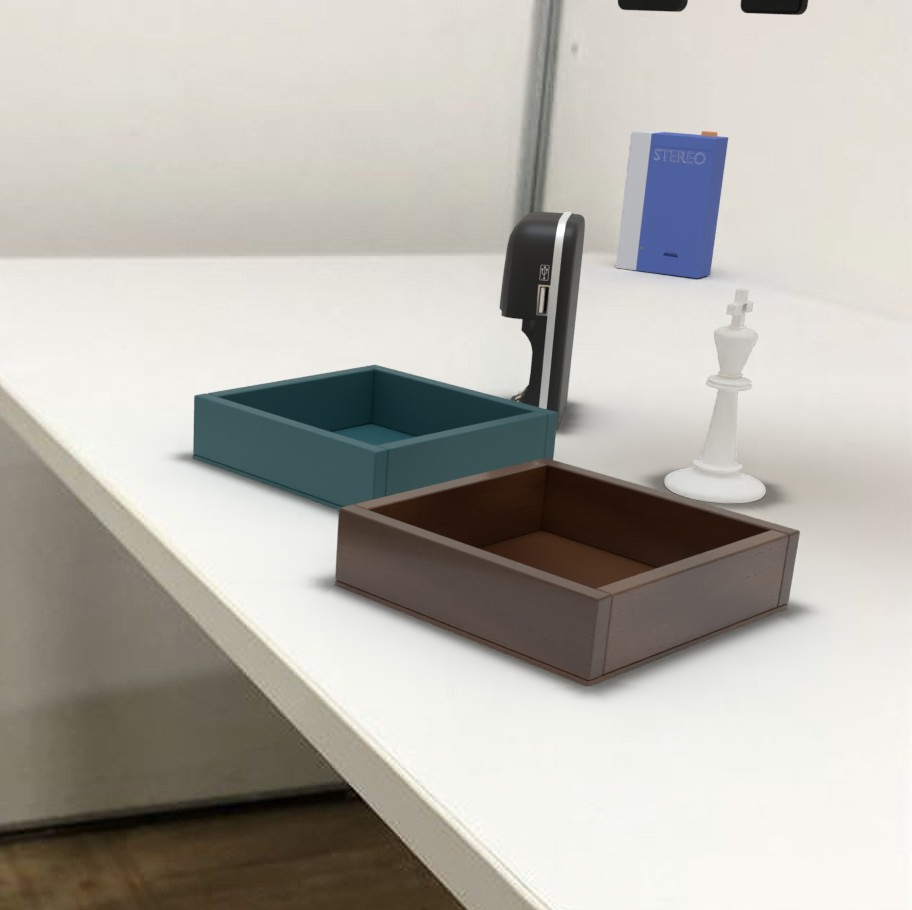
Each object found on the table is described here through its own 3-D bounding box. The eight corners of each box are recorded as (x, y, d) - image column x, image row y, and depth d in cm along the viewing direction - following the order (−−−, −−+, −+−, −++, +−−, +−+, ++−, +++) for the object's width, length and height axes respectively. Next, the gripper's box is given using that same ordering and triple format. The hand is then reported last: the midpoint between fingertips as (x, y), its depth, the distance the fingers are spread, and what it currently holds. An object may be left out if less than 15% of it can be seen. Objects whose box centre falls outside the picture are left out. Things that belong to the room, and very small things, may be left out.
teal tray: (371, 429, 88) (374, 364, 87) (551, 483, 80) (558, 412, 78) (192, 465, 80) (193, 395, 79) (371, 530, 72) (375, 451, 71)
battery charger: (501, 404, 95) (519, 204, 91) (566, 410, 94) (587, 208, 90) (485, 432, 89) (503, 219, 84) (555, 439, 88) (577, 224, 83)
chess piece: (642, 495, 78) (668, 287, 75) (693, 476, 82) (720, 277, 78) (734, 519, 75) (766, 303, 72) (783, 498, 79) (816, 291, 75)
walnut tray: (537, 535, 72) (545, 457, 71) (786, 617, 63) (801, 530, 62) (333, 594, 64) (338, 507, 63) (586, 697, 56) (598, 599, 54)
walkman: (710, 275, 142) (729, 132, 137) (697, 278, 140) (716, 134, 135) (628, 264, 146) (644, 125, 142) (614, 267, 144) (630, 127, 140)
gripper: (734, -501, 58) (675, 12, 64) (955, -413, 69) (886, 17, 75) (565, -466, 63) (526, 7, 69) (796, -389, 74) (745, 12, 80)
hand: (714, 12), depth 72 cm, fingers open, 9 cm apart
